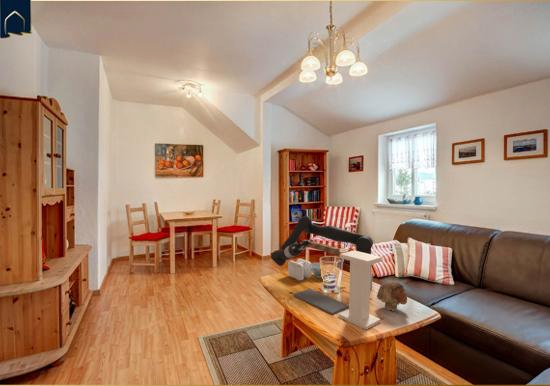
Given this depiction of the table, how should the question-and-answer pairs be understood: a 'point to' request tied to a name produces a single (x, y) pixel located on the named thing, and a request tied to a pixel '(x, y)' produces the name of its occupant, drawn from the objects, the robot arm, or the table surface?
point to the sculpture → (392, 294)
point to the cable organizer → (299, 269)
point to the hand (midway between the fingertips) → (310, 241)
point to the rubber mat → (321, 301)
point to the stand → (360, 289)
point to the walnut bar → (323, 247)
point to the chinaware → (316, 269)
